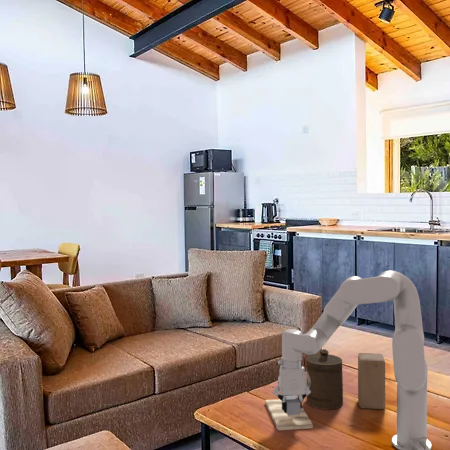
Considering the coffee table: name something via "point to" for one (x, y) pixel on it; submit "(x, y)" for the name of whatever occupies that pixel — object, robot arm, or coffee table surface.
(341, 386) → the wooden container
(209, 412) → the coffee table surface
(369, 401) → the wooden block
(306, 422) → the board
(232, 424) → the coffee table surface
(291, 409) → the block
